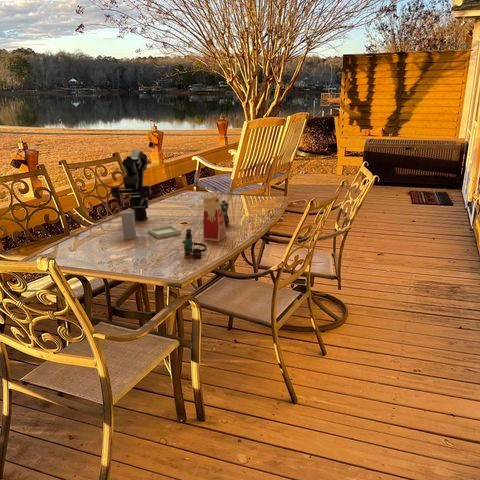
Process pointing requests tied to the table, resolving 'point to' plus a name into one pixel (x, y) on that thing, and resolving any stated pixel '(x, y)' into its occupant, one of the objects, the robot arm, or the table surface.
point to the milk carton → (213, 220)
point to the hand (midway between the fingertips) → (130, 206)
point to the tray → (164, 231)
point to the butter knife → (170, 254)
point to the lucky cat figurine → (225, 211)
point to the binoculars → (189, 244)
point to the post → (128, 224)
